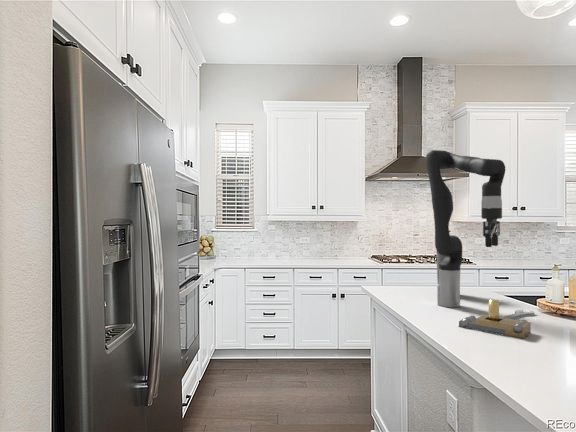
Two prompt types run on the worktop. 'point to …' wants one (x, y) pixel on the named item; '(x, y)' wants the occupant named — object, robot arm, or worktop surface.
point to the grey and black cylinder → (439, 259)
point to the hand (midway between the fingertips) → (491, 246)
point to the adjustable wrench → (519, 314)
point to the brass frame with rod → (498, 325)
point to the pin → (494, 310)
